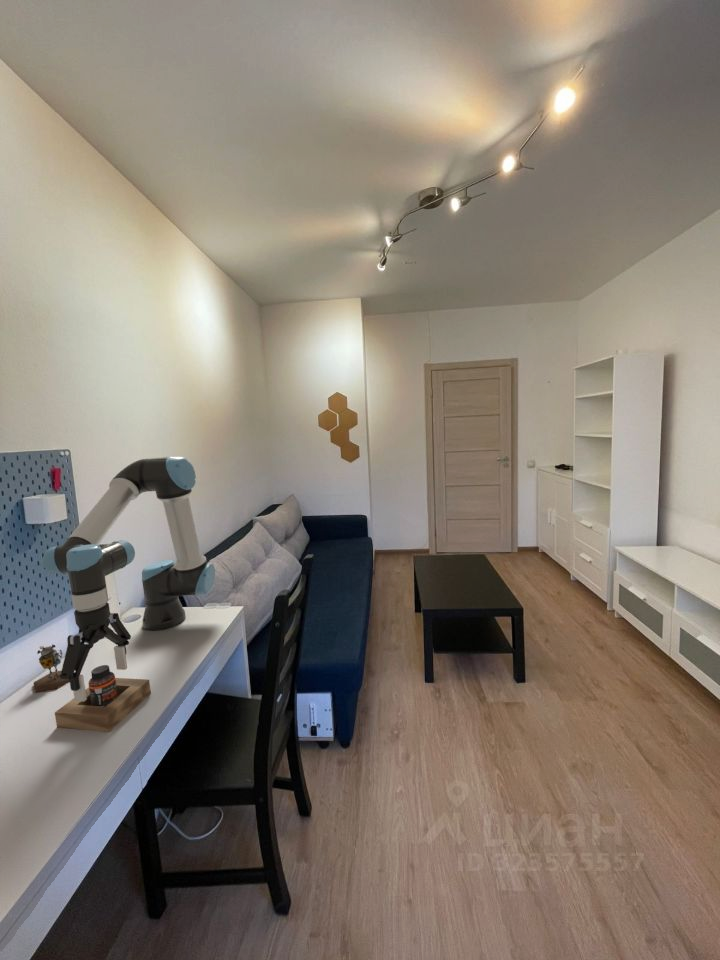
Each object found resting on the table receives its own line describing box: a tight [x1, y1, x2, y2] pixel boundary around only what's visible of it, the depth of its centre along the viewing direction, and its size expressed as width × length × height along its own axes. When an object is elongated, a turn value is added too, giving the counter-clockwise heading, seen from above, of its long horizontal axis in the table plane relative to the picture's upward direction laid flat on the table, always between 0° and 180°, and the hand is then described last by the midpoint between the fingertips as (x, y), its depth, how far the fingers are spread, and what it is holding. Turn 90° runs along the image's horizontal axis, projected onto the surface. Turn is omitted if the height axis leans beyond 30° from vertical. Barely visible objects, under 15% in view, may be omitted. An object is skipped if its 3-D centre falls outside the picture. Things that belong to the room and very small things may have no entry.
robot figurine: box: [33, 644, 70, 694], centre depth 123 cm, size 11×9×12 cm
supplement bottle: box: [88, 664, 118, 707], centre depth 108 cm, size 6×6×11 cm
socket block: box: [54, 677, 152, 733], centre depth 109 cm, size 15×15×4 cm
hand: (102, 683), depth 108 cm, fingers open, 13 cm apart
